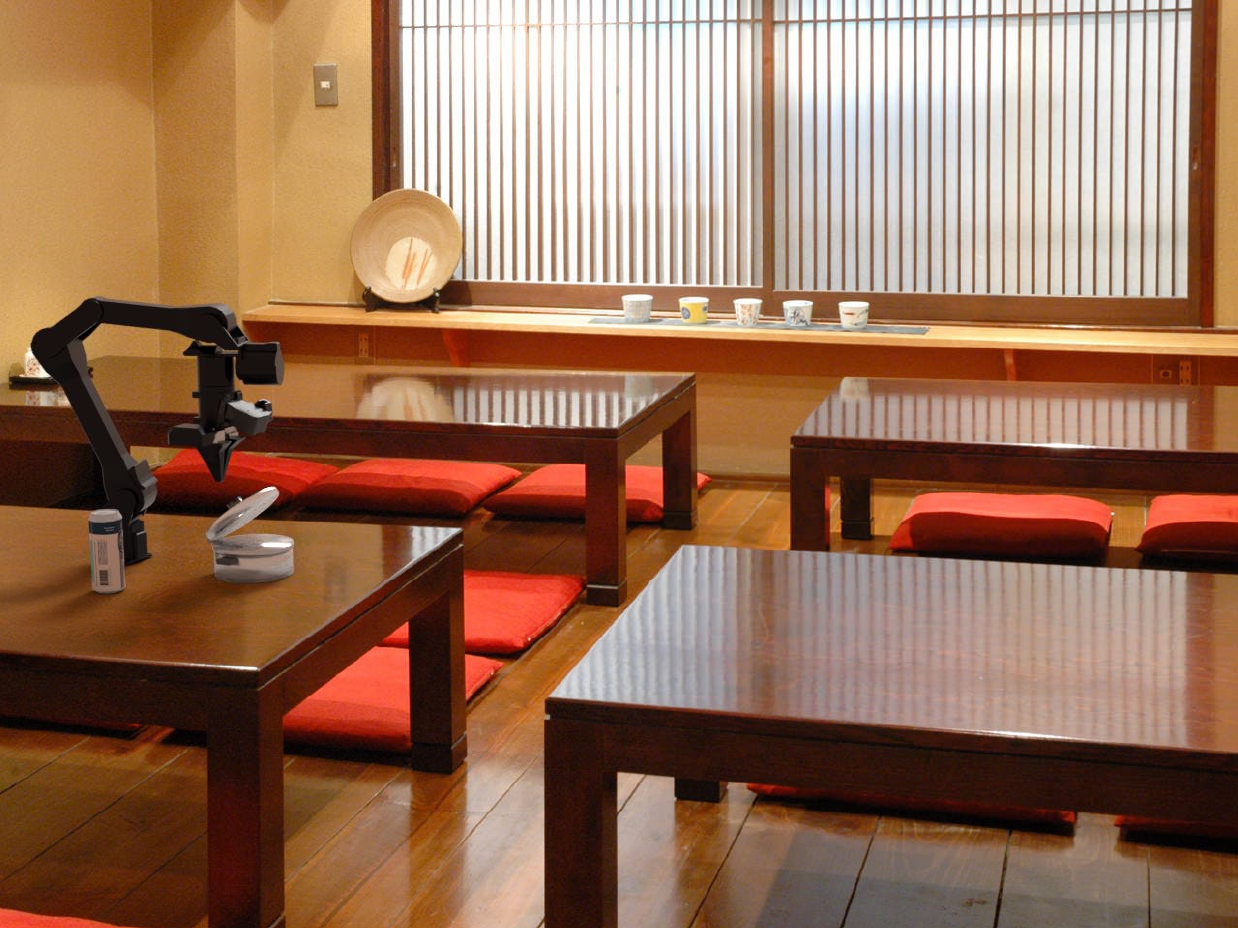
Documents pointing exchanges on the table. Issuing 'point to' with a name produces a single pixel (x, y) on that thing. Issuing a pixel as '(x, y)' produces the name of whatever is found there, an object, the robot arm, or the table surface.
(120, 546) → the beer can
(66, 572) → the table surface
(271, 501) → the cooker lid
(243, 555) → the cooker pot
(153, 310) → the robot arm
